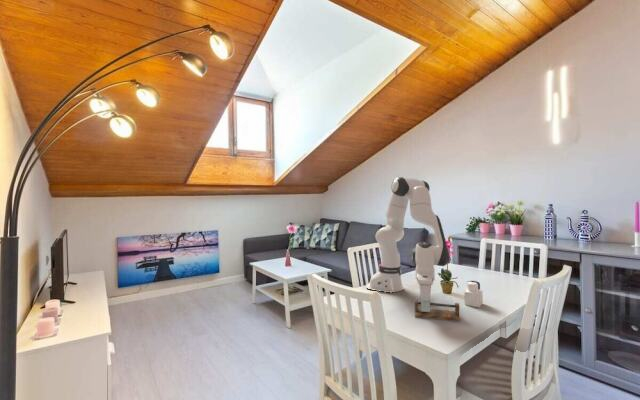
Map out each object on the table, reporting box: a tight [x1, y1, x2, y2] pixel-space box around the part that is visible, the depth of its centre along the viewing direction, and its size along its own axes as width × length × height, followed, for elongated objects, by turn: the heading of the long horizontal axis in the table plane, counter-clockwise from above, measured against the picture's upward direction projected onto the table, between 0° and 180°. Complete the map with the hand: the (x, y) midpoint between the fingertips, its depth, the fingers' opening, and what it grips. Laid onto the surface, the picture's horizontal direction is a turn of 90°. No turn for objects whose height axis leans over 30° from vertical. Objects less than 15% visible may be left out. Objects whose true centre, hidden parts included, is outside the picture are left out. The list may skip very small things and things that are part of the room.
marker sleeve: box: [420, 299, 431, 312], centre depth 151 cm, size 4×5×7 cm
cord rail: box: [414, 299, 461, 322], centre depth 150 cm, size 20×8×6 cm, turn 71°
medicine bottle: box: [464, 280, 484, 308], centre depth 162 cm, size 7×7×12 cm
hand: (425, 303), depth 151 cm, fingers closed on marker sleeve, 5 cm apart
